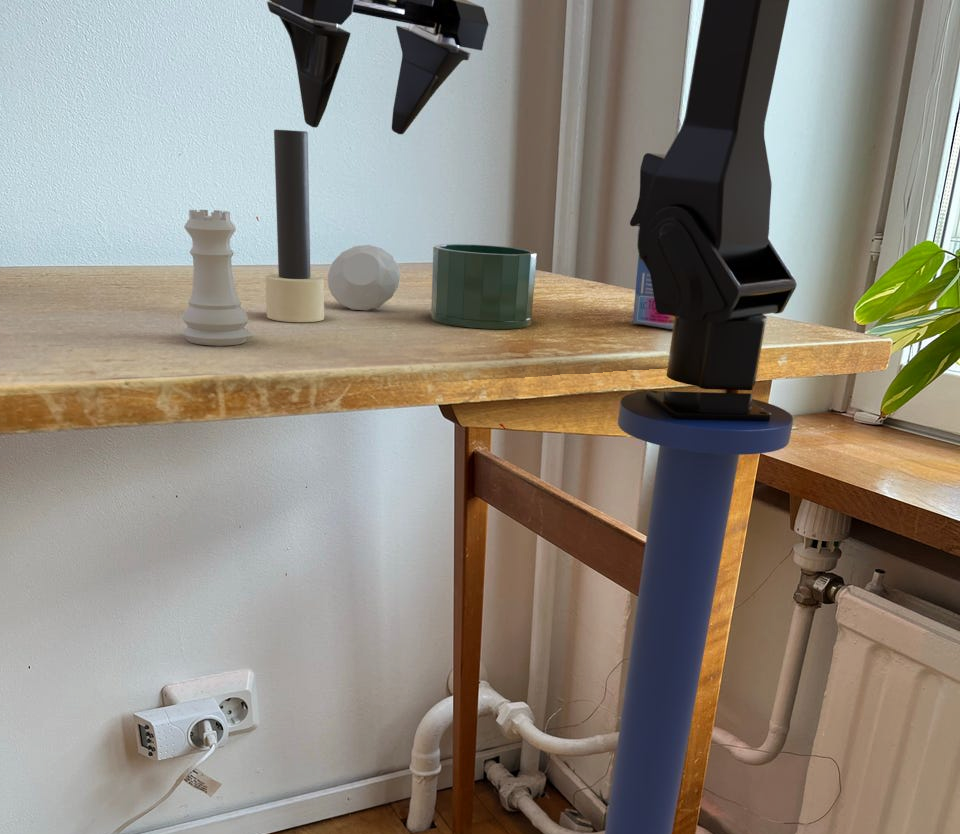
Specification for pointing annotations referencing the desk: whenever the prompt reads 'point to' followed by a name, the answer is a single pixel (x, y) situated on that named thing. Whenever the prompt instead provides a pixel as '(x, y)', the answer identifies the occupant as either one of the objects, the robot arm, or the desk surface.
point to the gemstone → (363, 277)
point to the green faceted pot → (483, 286)
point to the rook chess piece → (213, 283)
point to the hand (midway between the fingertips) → (355, 129)
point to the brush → (293, 236)
